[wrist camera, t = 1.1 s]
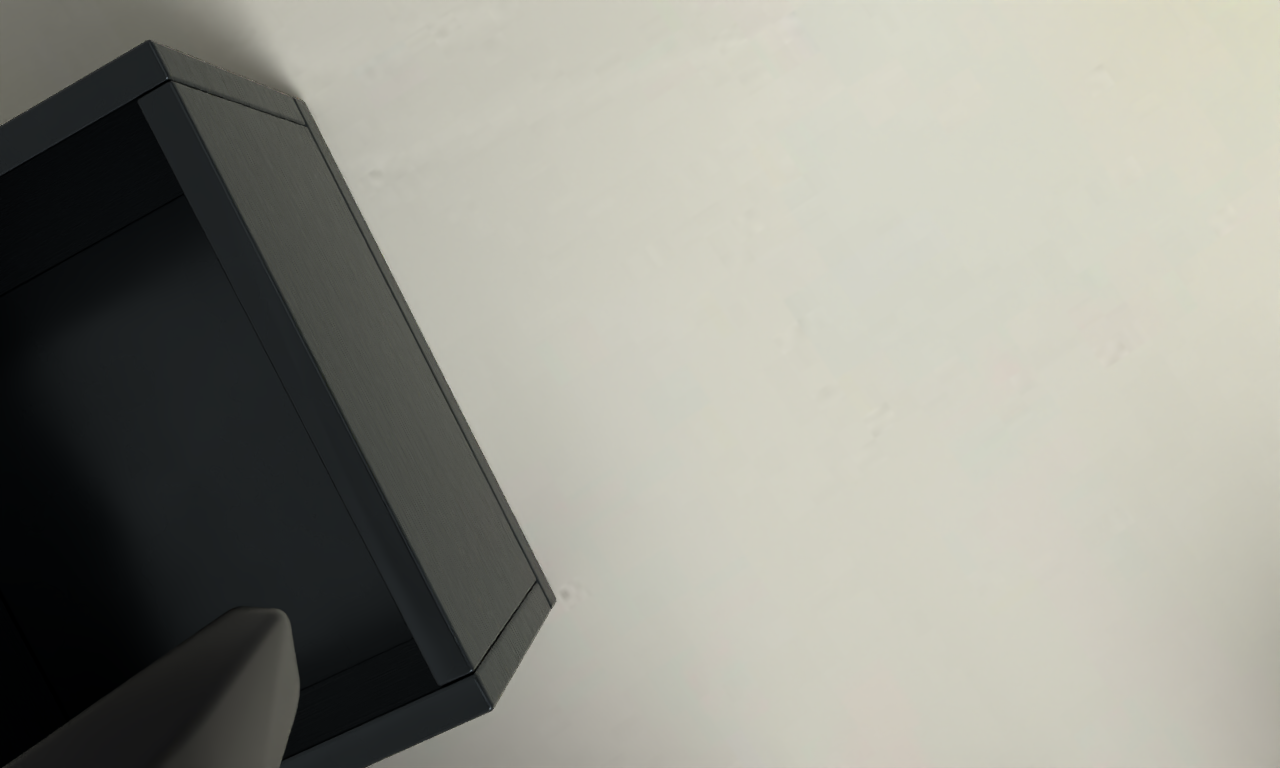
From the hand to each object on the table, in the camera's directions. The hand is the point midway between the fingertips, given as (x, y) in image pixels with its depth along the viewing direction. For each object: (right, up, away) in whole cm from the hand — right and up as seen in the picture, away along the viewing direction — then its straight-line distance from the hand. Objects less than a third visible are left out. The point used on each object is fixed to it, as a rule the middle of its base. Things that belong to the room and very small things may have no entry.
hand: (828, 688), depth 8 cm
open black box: (-11, +1, +14) cm, 18 cm away
